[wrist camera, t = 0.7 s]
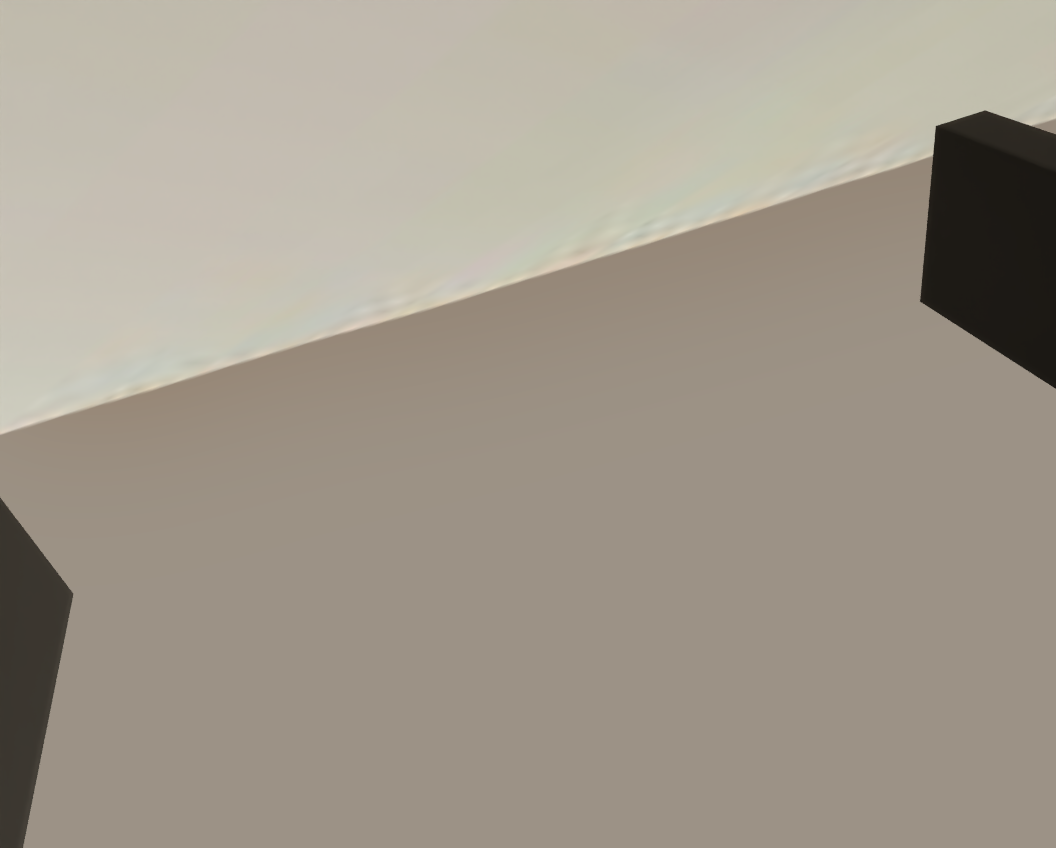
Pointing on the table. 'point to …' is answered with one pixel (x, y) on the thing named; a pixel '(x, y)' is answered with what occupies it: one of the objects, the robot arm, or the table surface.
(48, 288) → the table surface
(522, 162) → the table surface
